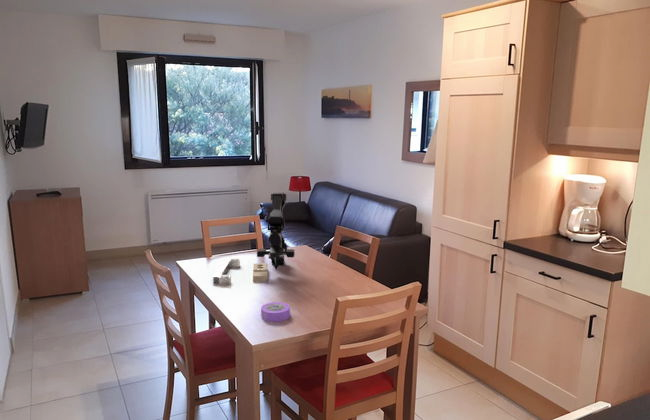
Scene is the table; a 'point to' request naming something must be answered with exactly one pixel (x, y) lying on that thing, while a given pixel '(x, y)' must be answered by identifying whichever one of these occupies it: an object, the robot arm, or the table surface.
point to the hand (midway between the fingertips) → (276, 269)
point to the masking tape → (275, 311)
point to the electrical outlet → (260, 272)
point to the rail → (220, 274)
